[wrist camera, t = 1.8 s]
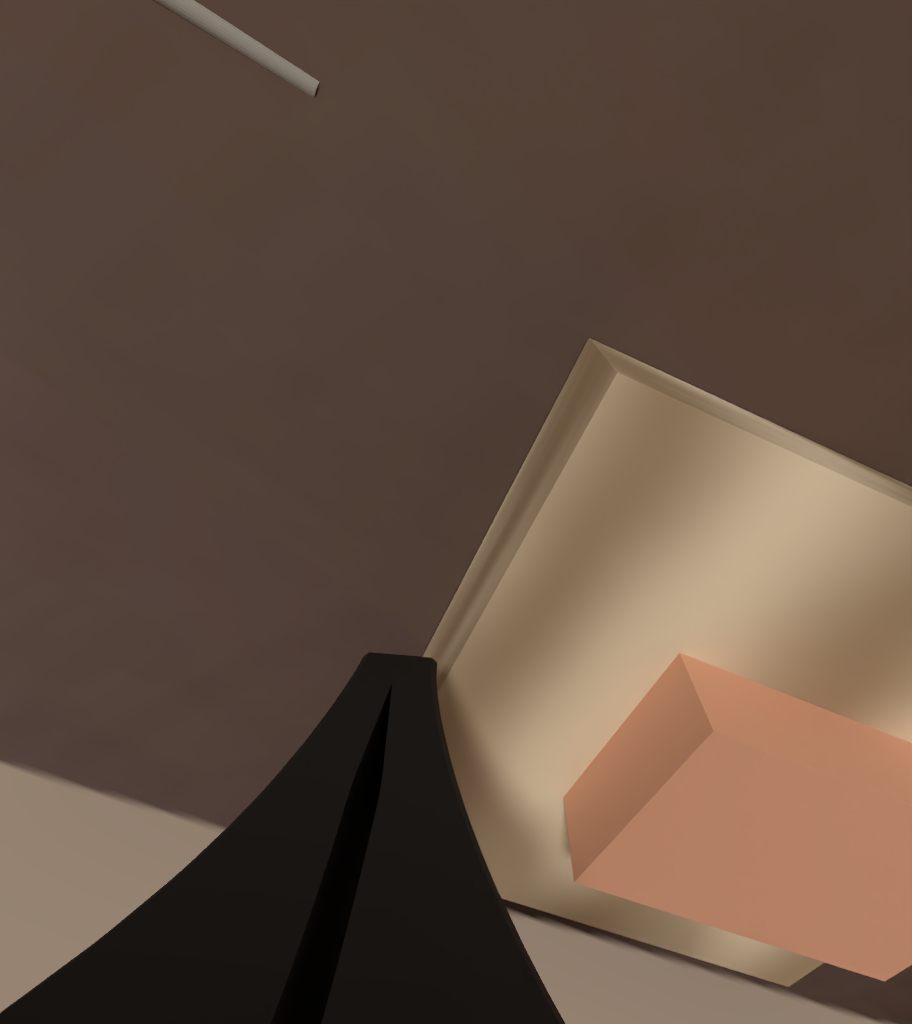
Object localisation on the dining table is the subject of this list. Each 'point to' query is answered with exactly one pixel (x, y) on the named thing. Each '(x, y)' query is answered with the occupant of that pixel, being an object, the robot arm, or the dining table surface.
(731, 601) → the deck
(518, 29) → the dining table surface
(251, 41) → the sign
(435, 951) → the robot arm
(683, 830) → the tile
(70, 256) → the dining table surface
